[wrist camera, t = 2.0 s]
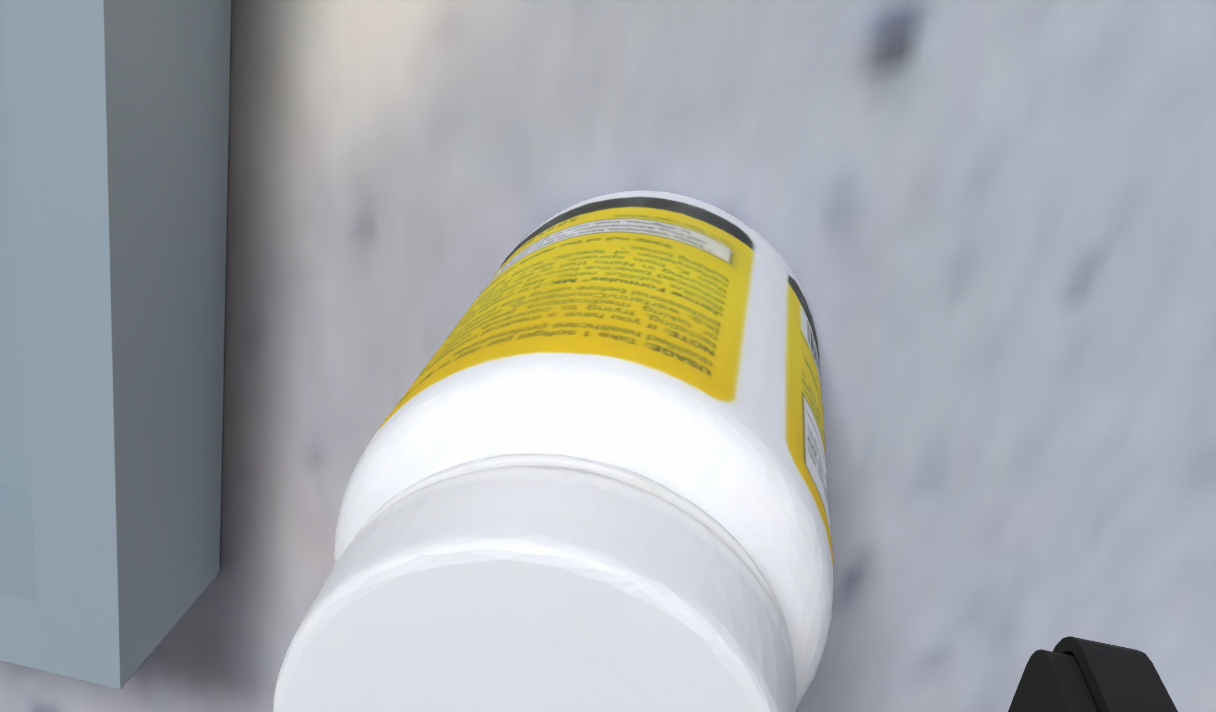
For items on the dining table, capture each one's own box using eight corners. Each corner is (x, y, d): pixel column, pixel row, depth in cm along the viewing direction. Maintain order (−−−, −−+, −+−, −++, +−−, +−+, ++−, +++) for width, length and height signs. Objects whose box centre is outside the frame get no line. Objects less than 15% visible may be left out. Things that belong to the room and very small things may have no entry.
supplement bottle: (423, 328, 16) (95, 715, 9) (658, 111, 15) (509, 351, 7) (644, 547, 17) (525, 1077, 9) (890, 368, 15) (988, 837, 8)
